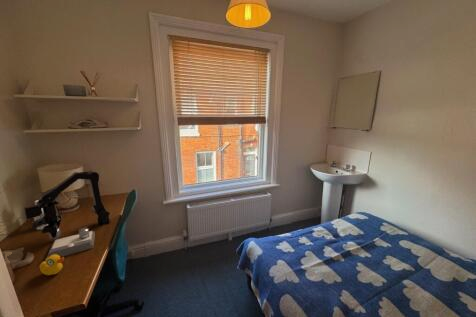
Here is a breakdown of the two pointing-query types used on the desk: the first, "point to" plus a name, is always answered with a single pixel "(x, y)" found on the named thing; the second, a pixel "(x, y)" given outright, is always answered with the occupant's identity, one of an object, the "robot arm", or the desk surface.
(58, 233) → the cylinder
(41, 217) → the bath foam
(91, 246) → the scale
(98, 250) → the desk surface
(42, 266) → the duckling
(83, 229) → the cylinder
